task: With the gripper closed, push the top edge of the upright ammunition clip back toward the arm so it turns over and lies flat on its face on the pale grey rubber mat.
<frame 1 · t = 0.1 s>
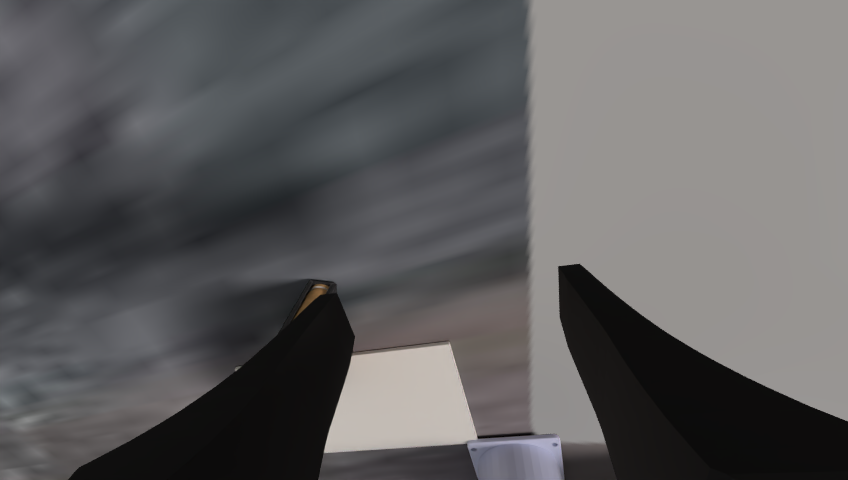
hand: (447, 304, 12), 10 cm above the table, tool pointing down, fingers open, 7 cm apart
mat: (362, 404, 31), on the table
ammunition clip: (326, 336, 27), on the table, touching mat
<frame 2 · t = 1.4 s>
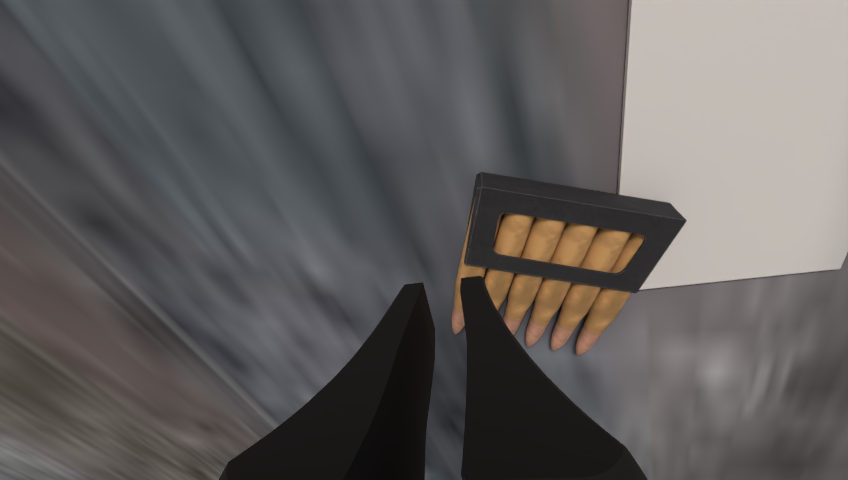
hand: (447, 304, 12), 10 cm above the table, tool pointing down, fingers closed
mat: (752, 134, 18), on the table
ammunition clip: (579, 191, 19), point 1 cm above the table, touching mat
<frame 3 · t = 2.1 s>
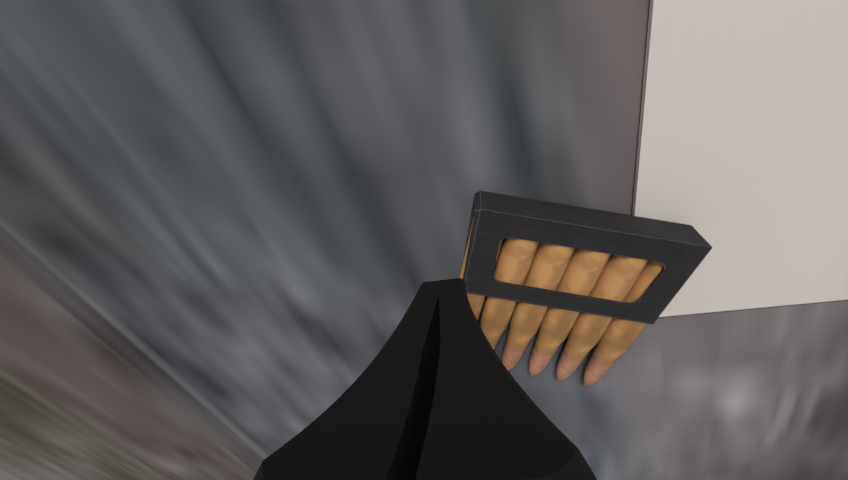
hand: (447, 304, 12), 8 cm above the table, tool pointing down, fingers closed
mat: (787, 150, 16), on the table
ammunition clip: (590, 213, 17), point 1 cm above the table, touching mat
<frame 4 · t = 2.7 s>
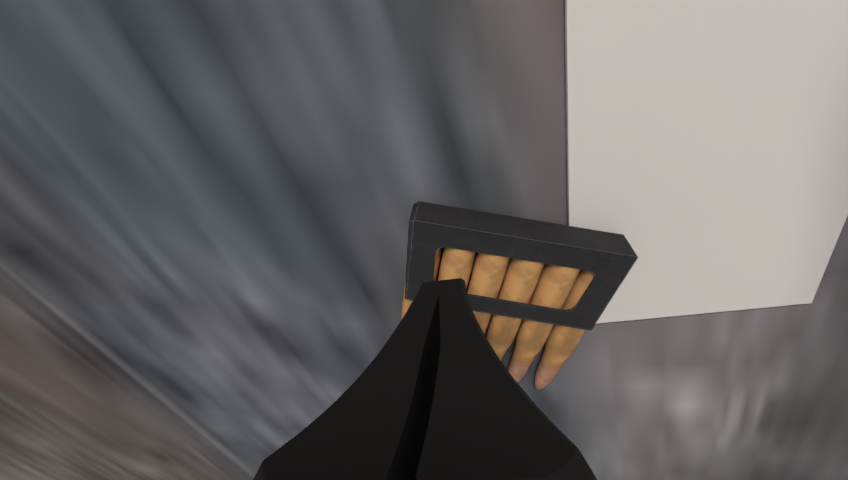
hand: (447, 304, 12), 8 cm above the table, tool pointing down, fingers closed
mat: (709, 162, 17), on the table
ammunition clip: (522, 224, 17), point 1 cm above the table, touching mat
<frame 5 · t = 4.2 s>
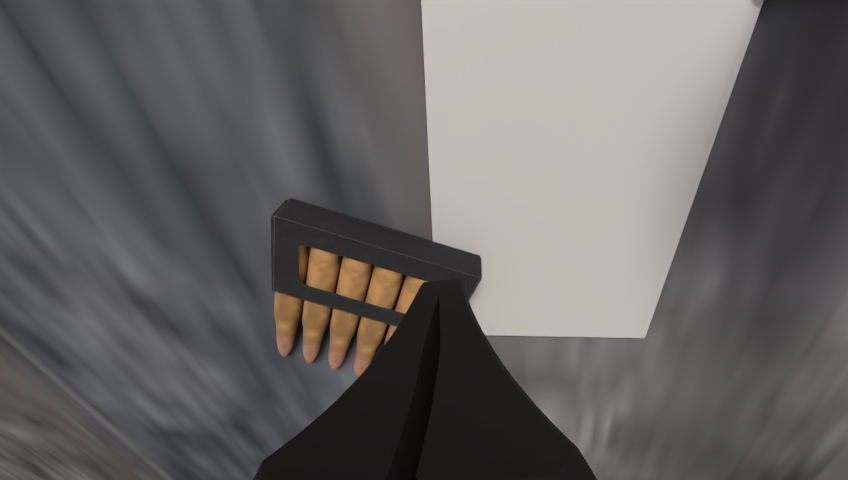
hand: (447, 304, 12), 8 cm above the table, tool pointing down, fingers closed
mat: (556, 200, 18), on the table
ammunition clip: (383, 233, 18), point 1 cm above the table, touching mat
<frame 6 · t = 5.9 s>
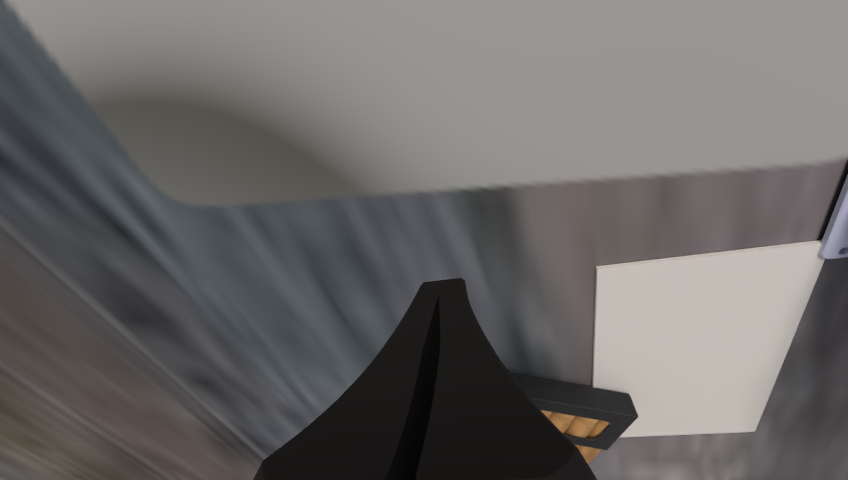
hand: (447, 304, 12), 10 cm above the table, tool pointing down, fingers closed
mat: (684, 357, 26), on the table
ammunition clip: (564, 391, 27), point 1 cm above the table, touching mat
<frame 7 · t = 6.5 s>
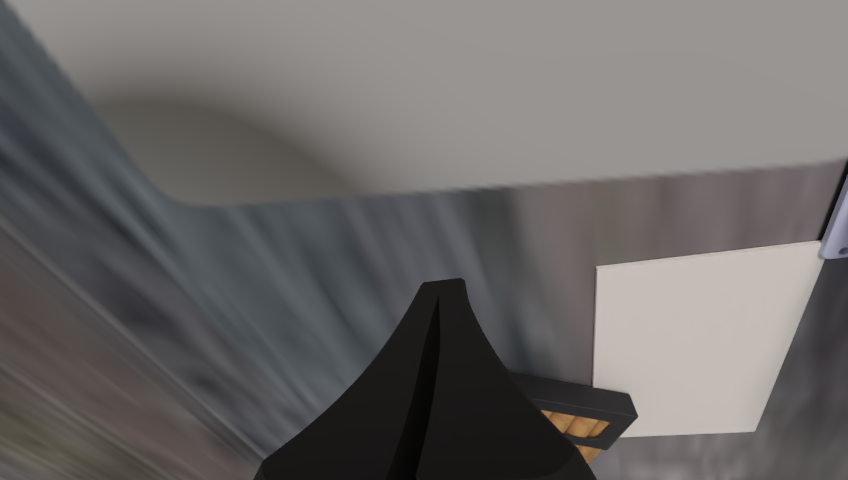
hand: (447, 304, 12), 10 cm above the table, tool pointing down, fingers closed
mat: (684, 357, 26), on the table
ammunition clip: (564, 391, 27), point 1 cm above the table, touching mat
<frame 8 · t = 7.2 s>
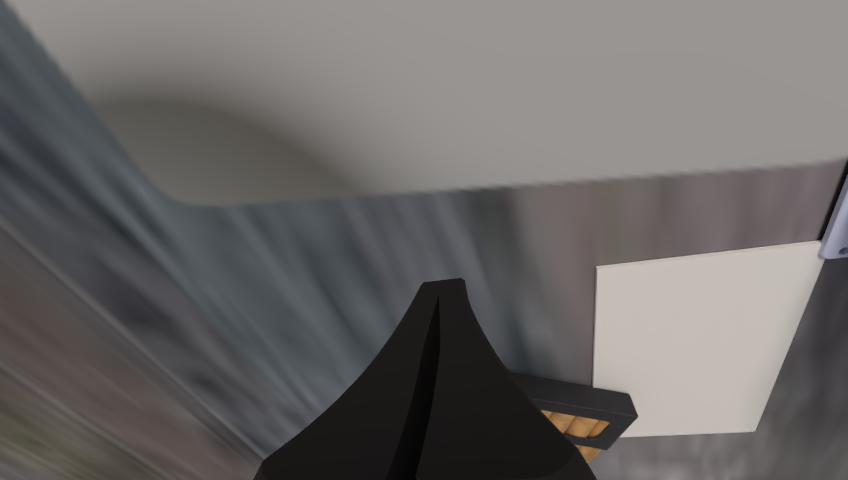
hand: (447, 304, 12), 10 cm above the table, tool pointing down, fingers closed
mat: (684, 357, 26), on the table
ammunition clip: (564, 391, 27), point 1 cm above the table, touching mat
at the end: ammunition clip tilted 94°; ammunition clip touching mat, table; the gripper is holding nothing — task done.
